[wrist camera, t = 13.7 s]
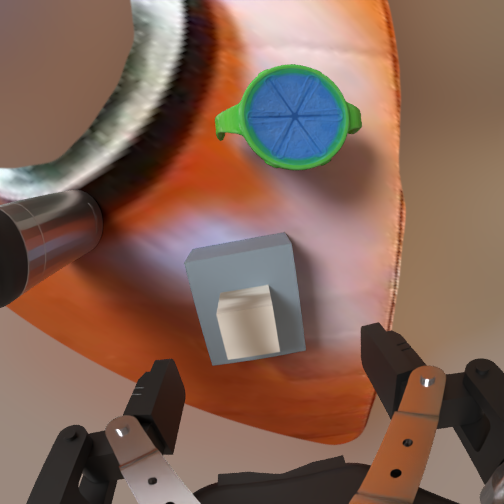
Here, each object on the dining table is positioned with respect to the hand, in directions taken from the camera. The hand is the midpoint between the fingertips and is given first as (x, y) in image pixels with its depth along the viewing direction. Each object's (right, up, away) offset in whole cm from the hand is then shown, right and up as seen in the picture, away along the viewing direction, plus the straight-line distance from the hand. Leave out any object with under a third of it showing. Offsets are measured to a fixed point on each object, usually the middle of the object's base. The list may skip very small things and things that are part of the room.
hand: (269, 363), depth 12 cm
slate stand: (-1, -1, +29) cm, 29 cm away
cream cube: (-1, -2, +23) cm, 24 cm away
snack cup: (+3, +20, +24) cm, 31 cm away
